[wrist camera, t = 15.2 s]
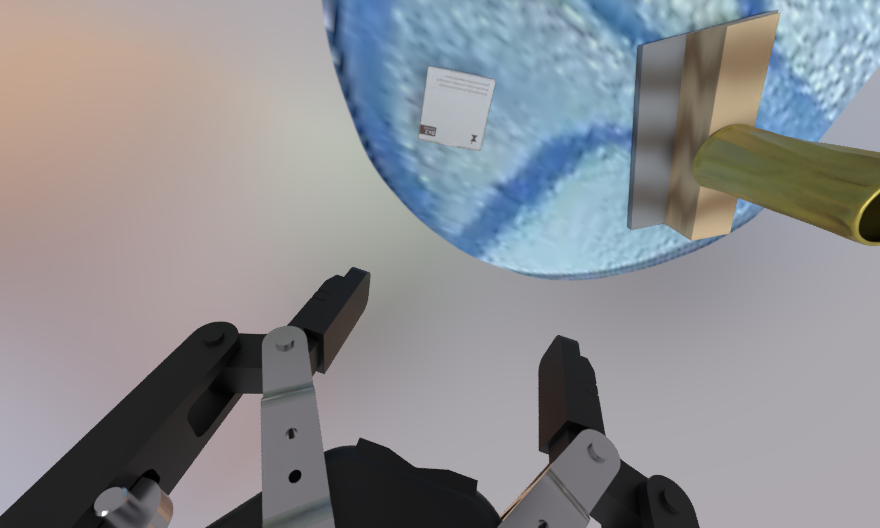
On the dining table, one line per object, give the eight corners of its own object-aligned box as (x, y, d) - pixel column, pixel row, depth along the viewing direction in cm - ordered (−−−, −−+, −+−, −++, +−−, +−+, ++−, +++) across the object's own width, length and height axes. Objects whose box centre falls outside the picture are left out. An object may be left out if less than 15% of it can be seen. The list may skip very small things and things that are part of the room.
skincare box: (487, 78, 34) (498, 78, 27) (474, 139, 37) (481, 152, 30) (429, 66, 33) (427, 64, 27) (421, 129, 36) (417, 140, 30)
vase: (773, 141, 31) (994, 183, 19) (721, 197, 34) (884, 266, 21) (727, 112, 30) (931, 136, 17) (677, 173, 33) (823, 231, 20)
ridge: (637, 45, 32) (675, 39, 27) (768, 11, 31) (835, -2, 26) (627, 226, 42) (653, 248, 37) (726, 206, 41) (769, 225, 35)
